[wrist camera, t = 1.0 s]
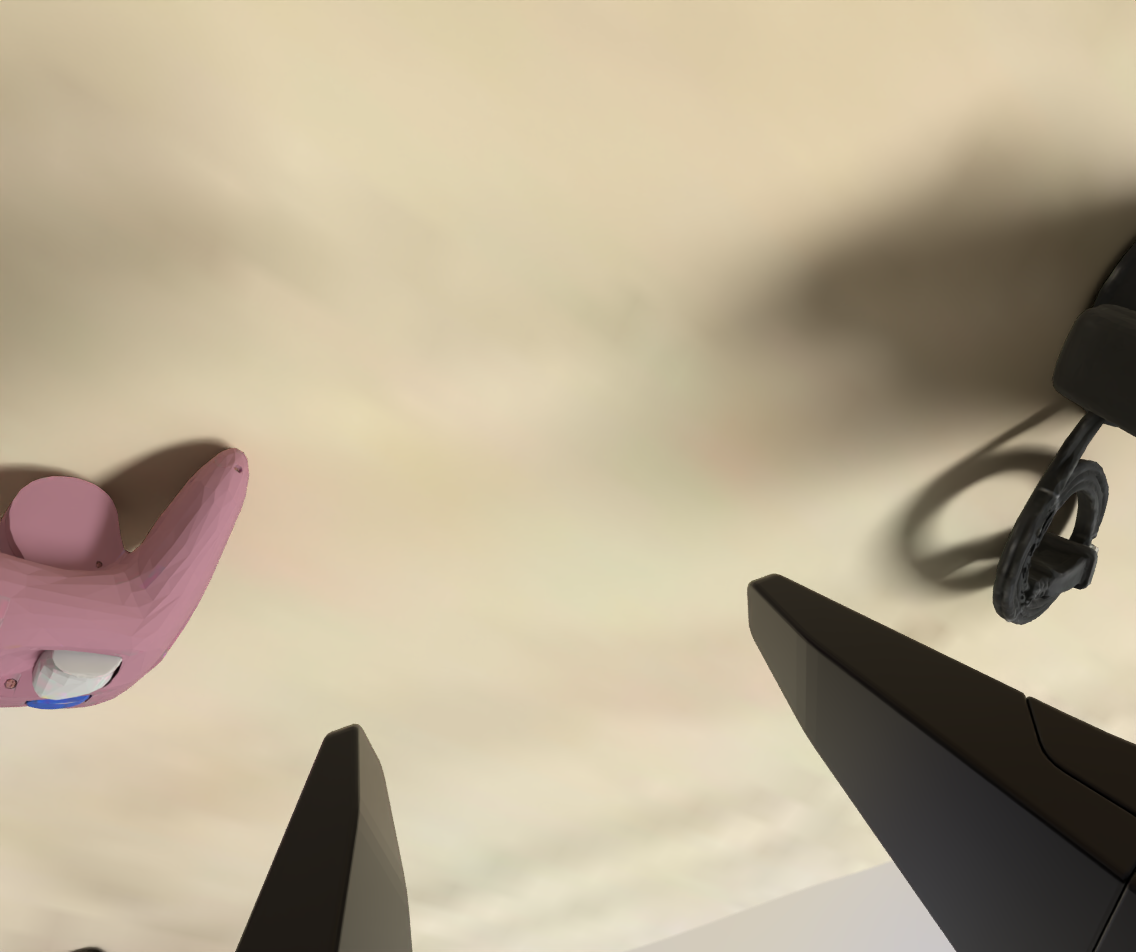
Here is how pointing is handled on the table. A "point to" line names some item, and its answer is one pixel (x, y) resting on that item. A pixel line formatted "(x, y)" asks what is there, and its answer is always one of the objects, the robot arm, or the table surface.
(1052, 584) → the milk frother
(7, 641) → the video game controller
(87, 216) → the table surface
